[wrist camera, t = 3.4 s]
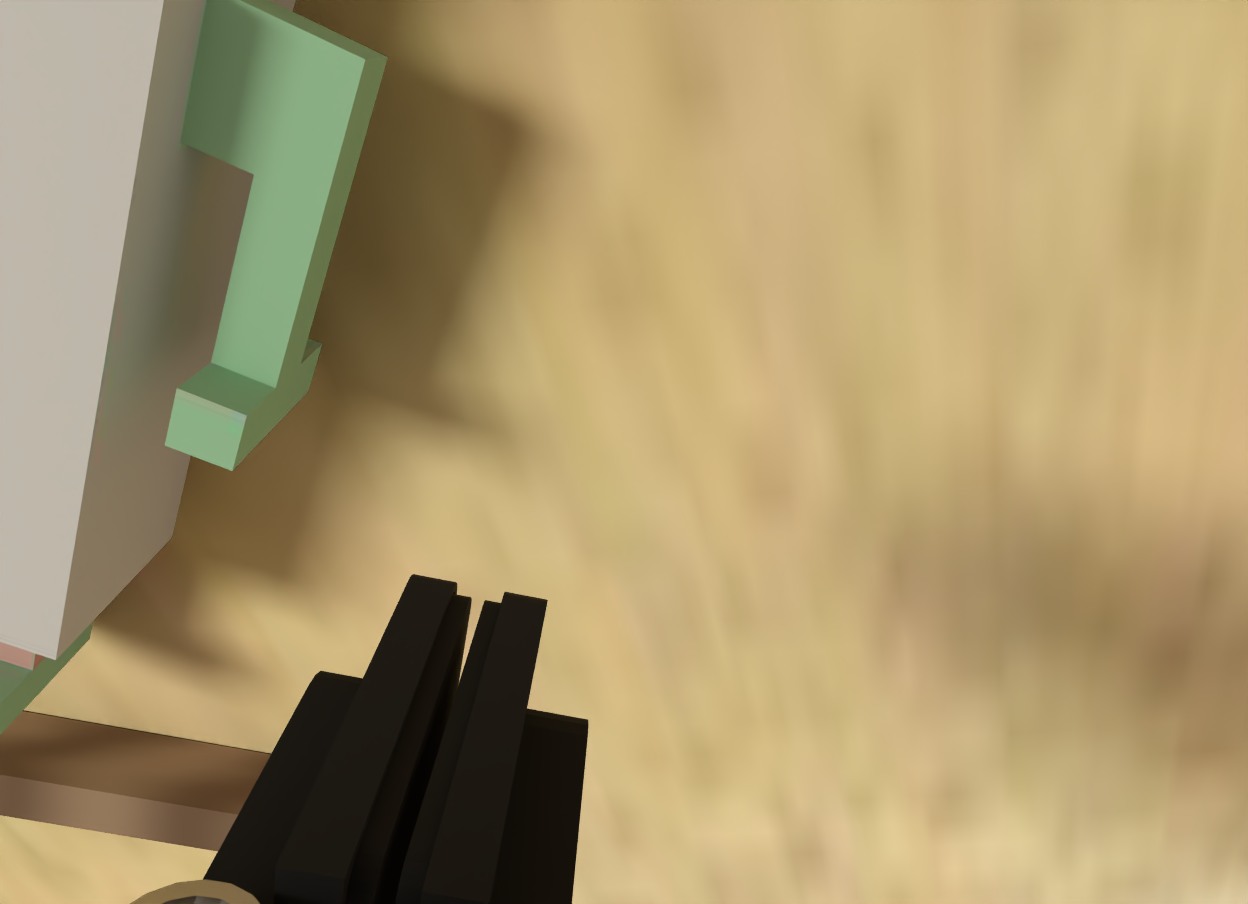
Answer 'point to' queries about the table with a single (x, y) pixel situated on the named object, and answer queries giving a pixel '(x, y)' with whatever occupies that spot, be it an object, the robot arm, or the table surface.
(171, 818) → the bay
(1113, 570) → the table surface
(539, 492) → the table surface
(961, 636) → the table surface
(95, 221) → the decorative block
